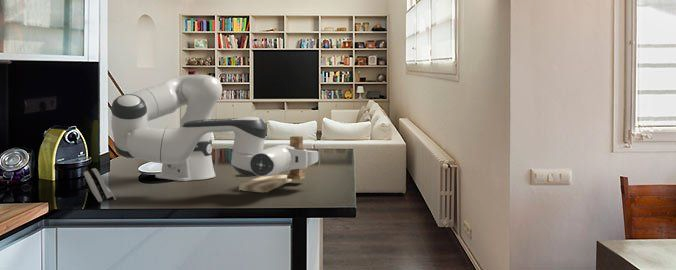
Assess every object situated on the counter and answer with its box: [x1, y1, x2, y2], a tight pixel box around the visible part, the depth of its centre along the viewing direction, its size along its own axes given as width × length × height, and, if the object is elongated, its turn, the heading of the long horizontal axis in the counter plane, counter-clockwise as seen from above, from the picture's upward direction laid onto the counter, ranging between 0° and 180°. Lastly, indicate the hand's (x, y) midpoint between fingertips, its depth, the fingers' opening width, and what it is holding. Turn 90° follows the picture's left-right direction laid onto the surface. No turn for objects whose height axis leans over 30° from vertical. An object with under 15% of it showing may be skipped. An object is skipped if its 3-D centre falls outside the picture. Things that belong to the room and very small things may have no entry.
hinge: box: [83, 167, 117, 203], centre depth 162 cm, size 17×5×10 cm, turn 32°
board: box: [238, 173, 293, 193], centre depth 181 cm, size 10×22×2 cm, turn 163°
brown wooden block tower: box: [286, 135, 306, 181], centre depth 183 cm, size 7×5×15 cm
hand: (297, 152), depth 184 cm, fingers closed on brown wooden block tower, 3 cm apart
